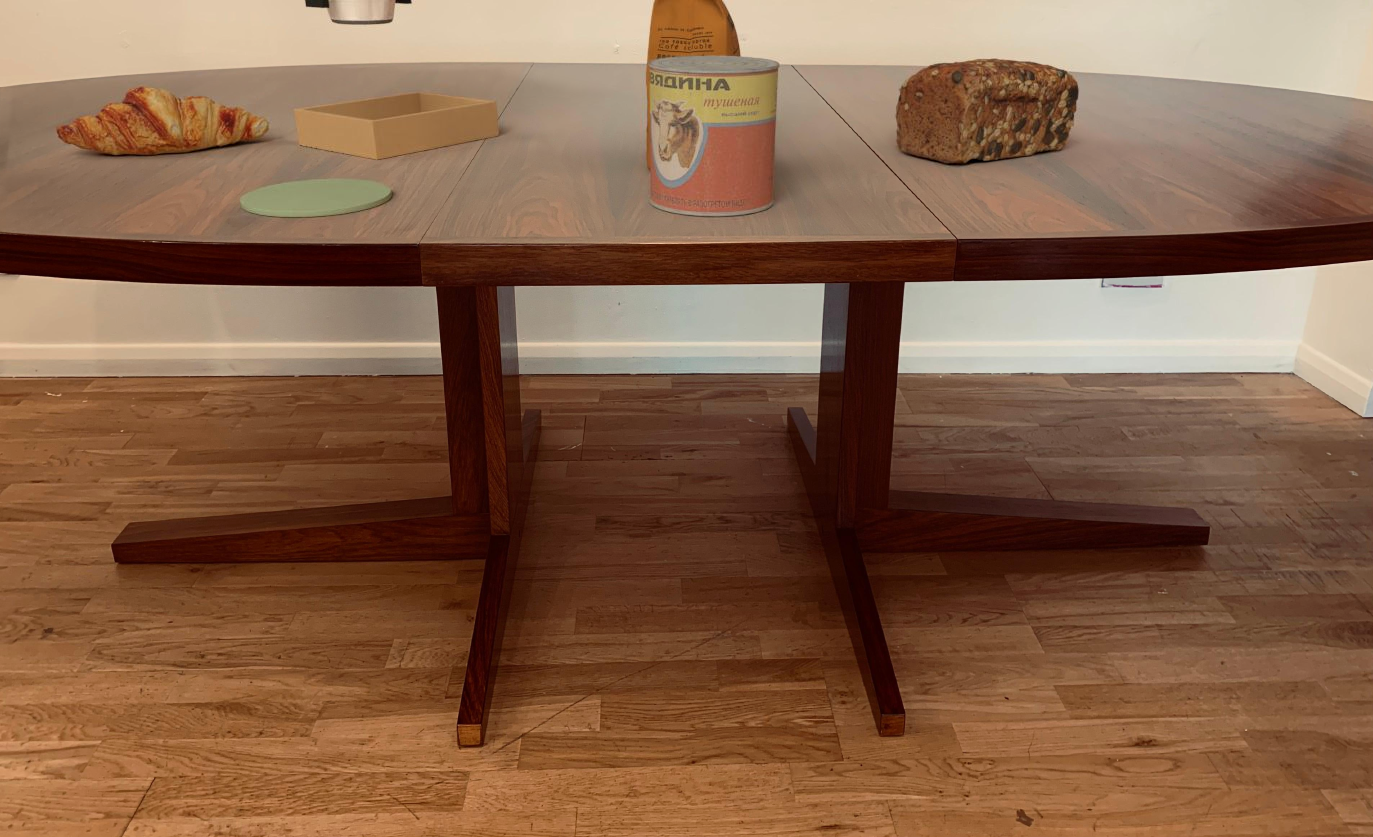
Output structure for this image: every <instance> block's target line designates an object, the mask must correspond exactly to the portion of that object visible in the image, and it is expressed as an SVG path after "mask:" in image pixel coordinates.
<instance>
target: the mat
mask: <svg viewBox="0 0 1373 837" xmlns="http://www.w3.org/2000/svg"><path fill="white" fill-rule="evenodd" d="M392 195H393V194H392V189H391V188H390V187H389V186H388V185H386V184H385V183H381V182H378V181H373V180H368V179H358V178H356V179H355V178H317V179H315V178H313V179H304V180H294V181H286V182H280V183H275V184H269V185H266V186H263V187H259V188H256V189H253V190H250V191H248V192H246V193H245V194H243V195H242V196H240V198H239V203H240V207H241V209H242V210H244V211H246V212H248V213H251V214H254V215H260V216H266V217H277V218H313V217H316V218H317V217H328V216H329V217H330V216H337V215H345V214H349V213H355V212H360V211H365V210H368V209H372V208H375V207H378V206H382V205H383V204H385V203H386V202H388V201H390V200H391V199H392Z"/></svg>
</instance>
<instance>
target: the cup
mask: <svg viewBox="0 0 1373 837" xmlns="http://www.w3.org/2000/svg"><path fill="white" fill-rule="evenodd" d="M395 6H396V3H395V0H329V7H330V8H326V10H327V14H328V15H329V16H328V17H329V19H330V21H331V23H334V24H338V25H354V26H355V25H356V26H357V25H359V26H362V25H363V26H367V25H386V24H390V23H392V22H393V20H394V16H395Z"/></svg>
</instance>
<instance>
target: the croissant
mask: <svg viewBox="0 0 1373 837" xmlns="http://www.w3.org/2000/svg"><path fill="white" fill-rule="evenodd" d="M269 128H270V122H269V120H268V119H267V118H266V117H264V116H257V115H255V114H254V113H251V112H249V111H248V110H245V109H244V108H243V107H239V106H237V107H228V106H226V105H224V104H221V103H216V102H215V101H214V99H212V98H211V99H210V98H209V97H207V96H199V95H198V96H184V99H181V98H180V97H176V96H175V95H174V94H173V93H172V92H171V91H169V90H167V89H164V88H156V87H146V86H139V87H132V88H130V89H129V90H128V91H127V92H126V94H125V97H124V98H123V100H122V101H121V102H109V103H107V104H106V105H104V106H103V108H102V109H101V110H100V112H99V113H97V114H96V115H94V116H93V115H87V116H80V117H77V118H76V119H75V120H73V121H72V122H71V123H69V124H64V125H63V124H62V125H59V126H56V127H55V130H56V134H57V135H58V138H59V139H60V140H61V141H63V143H64V144H67V145H73V146H75V147H77V148H79V149H81V150H87V151H91V150H92V151H94V152H98V153H99V154H108V155H114V156H119V155H139V156H151V155H159V154H178V153H180V154H183V153H190V152H194V151H199V150H204V149H208V148H213V147H218V146H219V147H222V146H227V145H229V144H233V145H234V144H235V143H237V142H239V141H252V140H255V139H259V138H261V137H263V136H265V135H266V134H267V133H268V132H269V130H270V129H269Z"/></svg>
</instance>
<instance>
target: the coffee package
mask: <svg viewBox="0 0 1373 837" xmlns="http://www.w3.org/2000/svg"><path fill="white" fill-rule="evenodd" d="M679 56H740V57H742V56H741V49H740V42H739V36H738V32H737V29H736V26H735V22H734V20H733V18H732V16H731V14H730V11H729V9H728V7H727V5H726V3H725V2H724V0H653V4H652V11H651V17H650V25H649V36H648V46H647V59H646V69H645V85H646V100H647V102H646V104H647V107H646V108H647V109H646V110H647V112H646V113H647V114H646V156H645V157H646V165H647V168H648V169H649V170H650V67H649V66H648V62H649V61H651V60H654V59H659V58H667V57H679Z"/></svg>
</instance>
